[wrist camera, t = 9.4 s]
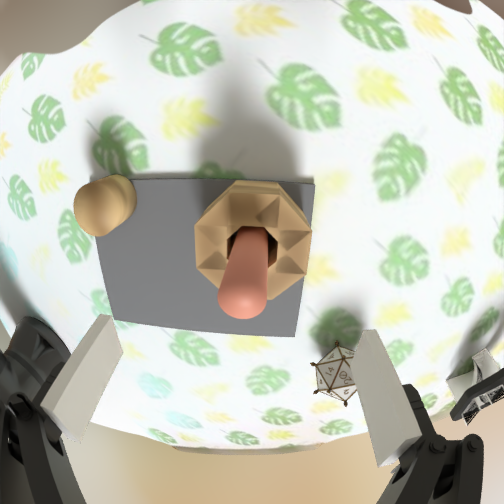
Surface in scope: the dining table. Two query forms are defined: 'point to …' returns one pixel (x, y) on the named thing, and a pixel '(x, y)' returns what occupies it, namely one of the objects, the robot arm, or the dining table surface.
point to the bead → (260, 215)
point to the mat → (183, 262)
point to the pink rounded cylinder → (246, 274)
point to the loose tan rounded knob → (104, 204)
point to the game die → (336, 374)
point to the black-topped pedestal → (476, 387)
